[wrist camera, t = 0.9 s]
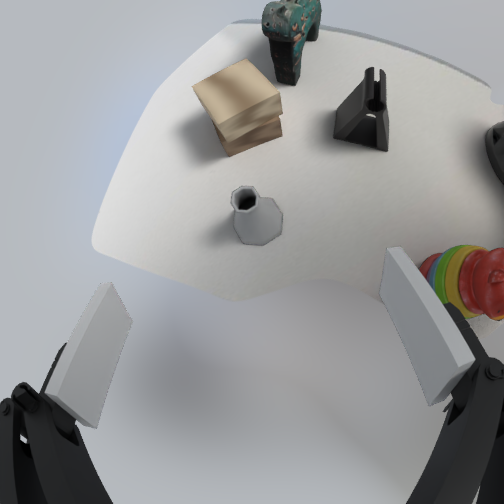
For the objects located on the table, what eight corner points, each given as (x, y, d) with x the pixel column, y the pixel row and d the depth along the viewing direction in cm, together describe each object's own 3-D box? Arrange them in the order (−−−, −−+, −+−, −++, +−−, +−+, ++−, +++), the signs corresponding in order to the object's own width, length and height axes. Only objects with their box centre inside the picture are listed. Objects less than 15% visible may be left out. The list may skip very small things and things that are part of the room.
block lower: (261, 98, 42) (257, 80, 37) (282, 136, 40) (280, 119, 36) (213, 117, 43) (204, 101, 38) (229, 157, 41) (220, 142, 37)
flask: (277, 191, 39) (269, 161, 29) (289, 239, 38) (285, 222, 28) (229, 204, 40) (207, 178, 30) (238, 251, 39) (218, 239, 29)
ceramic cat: (298, 94, 41) (290, 0, 21) (263, 86, 42) (241, -3, 23) (326, 35, 42) (326, -40, 22) (297, 29, 43) (289, -44, 24)
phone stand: (332, 138, 39) (340, 89, 27) (337, 109, 39) (344, 59, 28) (387, 152, 37) (411, 109, 25) (388, 122, 38) (408, 77, 26)
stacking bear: (407, 321, 34) (477, 340, 16) (410, 250, 35) (480, 222, 17) (464, 318, 32) (540, 329, 14) (466, 253, 33) (542, 232, 16)
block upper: (252, 79, 37) (246, 58, 32) (282, 113, 36) (279, 92, 31) (202, 105, 38) (191, 86, 33) (227, 143, 36) (218, 124, 31)
